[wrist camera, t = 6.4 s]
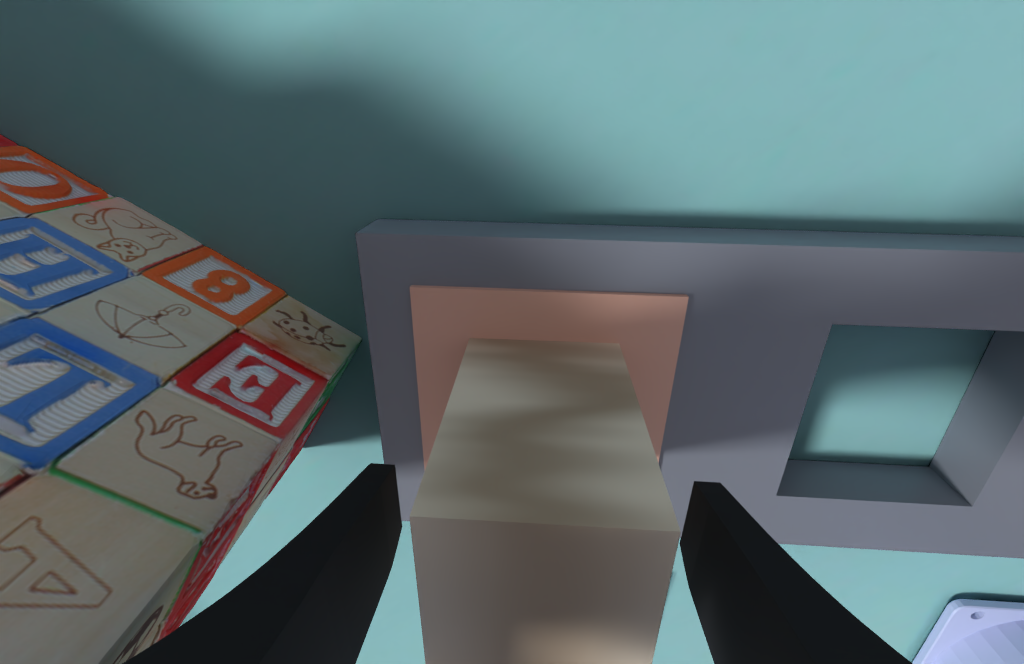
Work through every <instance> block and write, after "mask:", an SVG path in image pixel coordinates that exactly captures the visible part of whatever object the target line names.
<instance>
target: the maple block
mask: <svg viewBox="0 0 1024 664" xmlns="http://www.w3.org/2000/svg"><path fill="white" fill-rule="evenodd" d="M410 525H411V534H412V543H413V552H414V562H415V571H416V580H417V589H418V598H419V607H420V616H421V626H422V635H423V644H424V653H425V662H426V664H652V660H653V656H654V651H655V646H656V642H657V637H658V633H659V628H660V624H661V619H662V615H663V610H664V606H665V601H666V596H667V592H668V587H669V583H670V578H671V574H672V569H673V565H674V560H675V555H676V551H677V546H678V542H679V537H680V533H681V531H680V528H679V525H678V522H677V519H676V516H675V513H674V510H673V506H672V503H671V500H670V497H669V494H668V491H667V488H666V485H665V482H664V479H663V476H662V473H661V470H660V467H659V464H658V460H657V457H656V454H655V451H654V448H653V445H652V442H651V439H650V436H649V433H648V430H647V427H646V424H645V421H644V418H643V415H642V411H641V408H640V405H639V402H638V399H637V396H636V393H635V390H634V387H633V384H632V381H631V378H630V375H629V372H628V369H627V365H626V362H625V359H624V356H623V353H622V350H621V347H620V344H619V343H593V342H566V341H538V340H511V339H483V338H469V341H468V344H467V347H466V350H465V353H464V356H463V359H462V362H461V365H460V368H459V371H458V374H457V377H456V380H455V383H454V386H453V389H452V392H451V395H450V398H449V401H448V403H447V406H446V409H445V412H444V415H443V418H442V421H441V424H440V427H439V430H438V433H437V436H436V439H435V442H434V445H433V448H432V451H431V454H430V457H429V460H428V463H427V466H426V469H425V472H424V475H423V478H422V481H421V484H420V487H419V490H418V493H417V496H416V499H415V502H414V504H413V507H412V510H411V513H410Z"/></svg>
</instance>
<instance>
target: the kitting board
mask: <svg viewBox="0 0 1024 664" xmlns="http://www.w3.org/2000/svg"><path fill="white" fill-rule="evenodd" d="M355 236H356V243H357V251H358V259H359V267H360V275H361V283H362V291H363V299H364V307H365V315H366V323H367V331H368V339H369V347H370V354H371V362H372V370H373V378H374V386H375V394H376V402H377V410H378V418H379V426H380V434H381V442H382V450H383V458H384V464H391V465H395V468H396V477H397V486H398V495H399V504H400V512H401V521H410V513H411V510H412V507H413V504H414V502H415V499H416V496H417V493H418V490H419V487H420V484H421V481H422V478H423V475H424V472H425V469H426V466H427V463H428V460H429V457H430V454H431V451H432V448H433V445H434V442H435V439H436V436H437V433H438V430H439V427H440V424H441V421H442V418H443V415H444V412H445V409H446V406H447V403H448V401H449V398H450V395H451V392H452V389H453V386H454V383H455V380H456V377H457V374H458V371H459V368H460V365H461V362H462V359H463V356H464V353H465V350H466V347H467V344H468V341H469V338H483V339H511V340H538V341H566V342H593V343H619V344H620V347H621V350H622V353H623V356H624V359H625V362H626V365H627V369H628V372H629V375H630V378H631V381H632V384H633V387H634V390H635V393H636V396H637V399H638V402H639V405H640V408H641V411H642V415H643V418H644V421H645V424H646V427H647V430H648V433H649V436H650V439H651V442H652V445H653V448H654V451H655V454H656V457H657V460H658V464H659V467H660V470H661V473H662V476H663V479H664V482H665V485H666V488H667V491H668V494H669V497H670V500H671V503H672V506H673V510H674V513H675V516H676V519H677V522H678V525H679V528H680V531H681V533H680V537H679V538H681V536H682V531H683V527H684V523H685V518H686V514H687V510H688V505H689V501H690V496H691V492H692V488H693V483H694V481H703V482H720V483H721V484H722V485H723V486H724V487H725V488H726V489H727V490H728V491H729V492H730V493H731V494H732V495H733V497H734V498H735V499H736V500H737V501H738V502H739V503H740V504H741V505H742V506H743V507H744V508H745V510H746V511H747V512H748V513H749V514H750V515H751V516H752V517H753V518H754V519H755V520H756V521H757V522H758V523H759V524H760V526H761V527H762V528H763V529H764V530H765V531H766V532H767V533H768V534H769V535H770V536H771V537H772V538H773V539H774V540H775V541H776V542H777V543H778V544H794V545H811V546H827V547H844V548H860V549H877V550H893V551H909V552H926V553H942V554H959V555H975V556H992V557H1008V558H1024V237H1018V236H982V235H945V234H909V233H873V232H836V231H800V230H763V229H727V228H691V227H654V226H618V225H582V224H545V223H509V222H472V221H436V220H400V219H377V220H375V221H374V222H372V223H370V224H369V225H367V226H366V227H364V228H362V229H361V230H359V231H358V232H356V233H355ZM832 324H839V325H865V326H892V327H919V328H946V329H973V330H996V331H995V333H994V335H993V337H992V339H991V341H990V343H989V345H988V347H987V349H986V351H985V353H984V355H983V358H982V360H981V362H980V364H979V366H978V368H977V370H976V372H975V374H974V376H973V378H972V380H971V382H970V384H969V386H968V388H967V390H966V392H965V394H964V396H963V398H962V400H961V402H960V404H959V406H958V409H957V411H956V413H955V415H954V417H953V419H952V421H951V423H950V425H949V427H948V429H947V431H946V433H945V435H944V437H943V439H942V441H941V443H940V445H939V447H938V449H937V451H936V453H935V455H934V457H933V460H932V462H931V464H930V466H929V467H924V466H904V465H885V464H866V463H846V462H827V461H808V460H788V458H789V455H790V451H791V448H792V445H793V442H794V439H795V436H796V433H797V430H798V427H799V424H800V421H801V418H802V415H803V412H804V409H805V406H806V403H807V400H808V397H809V394H810V390H811V387H812V384H813V381H814V378H815V375H816V372H817V369H818V366H819V363H820V360H821V357H822V354H823V351H824V348H825V345H826V342H827V339H828V336H829V332H830V329H831V326H832Z"/></svg>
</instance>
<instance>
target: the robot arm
mask: <svg viewBox="0 0 1024 664" xmlns="http://www.w3.org/2000/svg"><path fill="white" fill-rule="evenodd" d="M401 529H402V521H401V512H400V504H399V495H398V486H397V477H396V468H395V465H391V464H373V463H371V464H370V465H368V466H367V467H366V468H365V469H364V470H363V471H362V472H361V473H360V474H359V475H358V476H357V477H356V478H355V479H354V480H353V481H352V482H351V483H350V484H349V485H348V486H347V487H346V489H345V490H344V491H343V492H342V493H341V494H340V495H339V496H338V497H337V498H336V499H335V500H334V501H333V502H332V503H331V504H330V505H329V506H328V507H327V508H325V509H324V510H323V511H322V512H321V513H320V514H319V515H318V516H317V517H316V518H315V519H314V520H313V521H312V522H311V523H310V524H309V525H308V526H307V527H306V528H305V529H304V530H303V531H301V532H300V533H299V534H298V535H297V536H296V537H295V538H294V539H292V540H291V541H290V542H289V543H288V544H287V545H286V546H285V547H283V548H282V549H281V550H280V551H279V552H278V553H277V554H276V555H274V556H273V557H272V558H271V559H270V560H269V561H267V562H266V563H265V564H264V565H263V566H261V567H260V568H259V569H258V570H257V571H255V572H254V573H253V574H252V575H250V576H249V577H248V578H247V579H245V580H244V581H243V582H242V583H240V584H239V585H238V586H236V587H235V588H234V589H232V590H231V591H230V592H229V593H227V594H226V595H225V596H223V597H222V598H221V599H219V600H218V601H216V602H215V603H214V604H212V605H211V606H209V607H208V608H206V609H205V610H204V611H202V612H201V613H199V614H198V615H196V616H195V617H193V618H192V619H190V620H189V621H188V622H186V623H185V624H183V625H182V626H180V627H179V628H177V629H176V630H174V631H173V632H171V633H170V634H169V635H167V636H166V637H164V638H162V639H161V640H159V641H158V642H156V643H155V644H153V645H151V646H150V647H148V648H147V649H145V650H143V651H142V652H140V653H139V654H137V655H135V656H134V657H132V658H131V659H129V660H127V661H126V662H124V663H122V664H355V663H356V661H357V658H358V655H359V653H360V650H361V648H362V645H363V642H364V640H365V637H366V634H367V632H368V629H369V627H370V624H371V621H372V619H373V616H374V613H375V611H376V608H377V606H378V603H379V600H380V598H381V595H382V592H383V590H384V587H385V584H386V582H387V579H388V576H389V573H390V571H391V568H392V564H393V561H394V557H395V553H396V549H397V545H398V541H399V537H400V533H401ZM680 547H681V552H682V557H683V562H684V567H685V571H686V576H687V580H688V585H689V589H690V592H691V595H692V598H693V601H694V604H695V607H696V610H697V613H698V616H699V619H700V622H701V625H702V628H703V631H704V634H705V637H706V640H707V643H708V646H709V649H710V652H711V655H712V658H713V661H714V663H715V664H1024V603H1017V602H1002V601H987V600H971V599H957V600H953V601H951V602H950V603H949V604H948V605H947V606H946V608H945V609H944V611H943V613H942V614H941V616H940V618H939V619H938V621H937V623H936V624H935V626H934V628H933V629H932V631H931V633H930V634H929V636H928V638H927V639H926V641H925V642H924V644H923V646H922V647H921V649H920V651H919V652H918V654H917V656H916V657H915V659H914V661H913V662H912V663H911V662H910V661H908V660H907V659H906V658H905V657H903V656H902V655H901V654H900V653H898V652H897V651H896V650H894V649H893V648H892V647H891V646H890V645H888V644H887V643H886V642H885V641H884V640H882V639H881V638H880V637H879V636H878V635H876V634H875V633H874V632H873V631H872V630H870V629H869V628H868V627H867V626H866V625H864V624H863V623H862V622H861V621H860V620H858V619H857V618H856V617H855V616H854V615H853V614H851V613H850V612H849V611H848V610H847V609H846V608H845V607H843V606H842V605H841V604H840V603H839V602H838V601H837V600H836V599H835V598H834V597H832V596H831V595H830V594H829V593H828V592H827V591H826V590H825V589H824V588H823V587H822V586H821V585H820V584H818V583H817V582H816V581H815V580H814V579H813V578H812V577H811V576H810V575H809V574H808V573H807V572H806V571H805V570H804V569H803V568H802V567H801V566H800V565H799V564H798V563H797V562H795V561H794V560H793V559H792V558H791V557H790V556H789V555H788V554H787V552H786V551H785V550H784V549H783V548H782V547H781V546H780V545H779V544H778V543H777V542H776V541H775V540H774V539H773V538H772V537H771V536H770V535H769V534H768V533H767V532H766V531H765V530H764V529H763V528H762V527H761V526H760V524H759V523H758V522H757V521H756V520H755V519H754V518H753V517H752V516H751V515H750V514H749V513H748V512H747V511H746V510H745V508H744V507H743V506H742V505H741V504H740V503H739V502H738V501H737V500H736V499H735V498H734V497H733V495H732V494H731V493H730V492H729V491H728V490H727V489H726V488H725V487H724V486H723V485H722V484H721V483H720V482H703V481H694V483H693V488H692V492H691V496H690V501H689V505H688V510H687V514H686V518H685V523H684V527H683V531H682V536H681V540H680Z"/></svg>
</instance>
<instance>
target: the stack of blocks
mask: <svg viewBox="0 0 1024 664" xmlns="http://www.w3.org/2000/svg"><path fill="white" fill-rule="evenodd" d="M361 341H362V339H361V337H359V336H358V335H356V334H354V333H353V332H351V331H349V330H347V329H346V328H344V327H342V326H340V325H339V324H337V323H335V322H334V321H332V320H330V319H328V318H327V317H325V316H323V315H321V314H320V313H318V312H316V311H315V310H313V309H311V308H309V307H308V306H306V305H304V304H302V303H301V302H299V301H297V300H295V299H294V298H292V297H290V296H288V295H287V293H286V292H285V291H283V290H282V289H280V288H279V287H277V286H275V285H273V284H272V283H270V282H268V281H266V280H265V279H263V278H261V277H259V276H258V275H256V274H254V273H253V272H251V271H249V270H247V269H245V268H244V267H242V266H240V265H238V264H237V263H235V262H233V261H231V260H230V259H228V258H226V257H225V256H223V255H221V254H219V253H218V252H216V251H214V250H212V249H211V248H208V247H206V246H203V245H202V244H201V243H200V242H198V241H197V240H195V239H193V238H191V237H190V236H188V235H187V234H185V233H183V232H182V231H180V230H178V229H177V228H175V227H173V226H171V225H169V224H167V223H166V222H164V221H162V220H161V219H159V218H157V217H155V216H154V215H152V214H150V213H148V212H146V211H145V210H143V209H141V208H139V207H137V206H136V205H134V204H132V203H131V202H129V201H127V200H125V199H123V198H120V197H113V196H111V195H109V194H107V193H106V192H105V191H104V190H102V189H101V188H99V187H96V186H94V185H92V184H90V183H88V182H87V181H85V180H83V179H81V178H79V177H77V176H76V175H74V174H73V173H71V172H69V171H68V170H66V169H64V168H62V167H60V166H59V165H57V164H55V163H53V162H51V161H50V160H48V159H46V158H44V157H43V156H41V155H39V154H37V153H36V152H34V151H32V150H30V149H28V148H27V147H23V146H18V145H17V144H16V143H15V142H13V141H11V140H10V139H8V138H6V137H4V136H2V135H0V664H122V663H124V662H126V661H127V660H129V659H131V658H132V657H134V656H135V655H137V654H139V653H140V652H142V651H143V650H145V649H147V648H148V647H150V646H151V645H153V644H155V643H156V642H158V641H159V640H161V639H162V638H164V637H166V636H167V635H169V634H170V633H171V632H173V631H174V630H176V629H177V628H179V626H180V625H181V623H182V621H183V620H184V618H185V617H186V616H187V614H188V613H189V612H190V611H191V609H192V608H193V607H194V605H195V604H196V602H197V600H198V599H199V597H200V596H201V594H202V593H203V592H204V590H205V589H206V587H207V586H208V584H209V583H210V581H211V580H212V578H213V576H214V574H215V572H216V570H217V569H218V567H219V566H220V564H221V563H222V561H223V560H224V559H225V557H226V556H227V554H228V553H229V551H230V550H231V548H232V547H233V545H234V544H235V543H236V541H237V540H238V538H239V537H240V535H241V534H242V532H243V531H244V530H245V528H246V527H247V525H248V524H249V522H250V521H251V519H252V518H253V516H254V515H255V513H256V512H257V511H258V509H259V508H260V506H261V504H262V503H263V501H264V500H265V499H266V498H267V496H268V495H269V494H270V493H271V491H272V490H273V488H274V487H275V486H276V484H277V483H278V481H279V480H280V479H281V478H282V476H283V474H284V473H285V472H286V470H287V469H288V467H289V466H290V464H291V463H292V462H293V460H294V459H295V458H296V456H297V455H298V454H299V452H300V451H301V449H302V447H303V446H304V444H305V442H306V440H307V439H308V437H309V435H310V433H311V432H312V430H313V428H314V426H315V425H316V423H317V421H318V419H319V417H320V415H321V414H322V412H323V410H324V408H325V406H326V405H327V403H328V401H329V399H330V395H331V393H332V391H333V390H334V388H335V386H336V384H337V383H338V381H339V379H340V377H341V376H342V374H343V372H344V370H345V369H346V367H347V365H348V363H349V362H350V360H351V358H352V356H353V355H354V353H355V351H356V349H357V348H358V346H359V344H360V343H361Z"/></svg>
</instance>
